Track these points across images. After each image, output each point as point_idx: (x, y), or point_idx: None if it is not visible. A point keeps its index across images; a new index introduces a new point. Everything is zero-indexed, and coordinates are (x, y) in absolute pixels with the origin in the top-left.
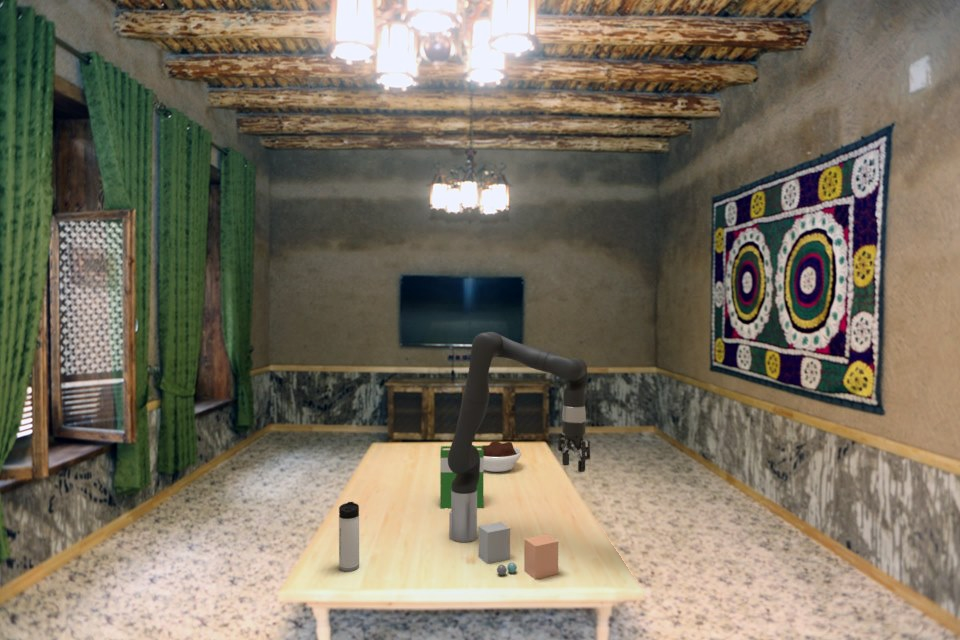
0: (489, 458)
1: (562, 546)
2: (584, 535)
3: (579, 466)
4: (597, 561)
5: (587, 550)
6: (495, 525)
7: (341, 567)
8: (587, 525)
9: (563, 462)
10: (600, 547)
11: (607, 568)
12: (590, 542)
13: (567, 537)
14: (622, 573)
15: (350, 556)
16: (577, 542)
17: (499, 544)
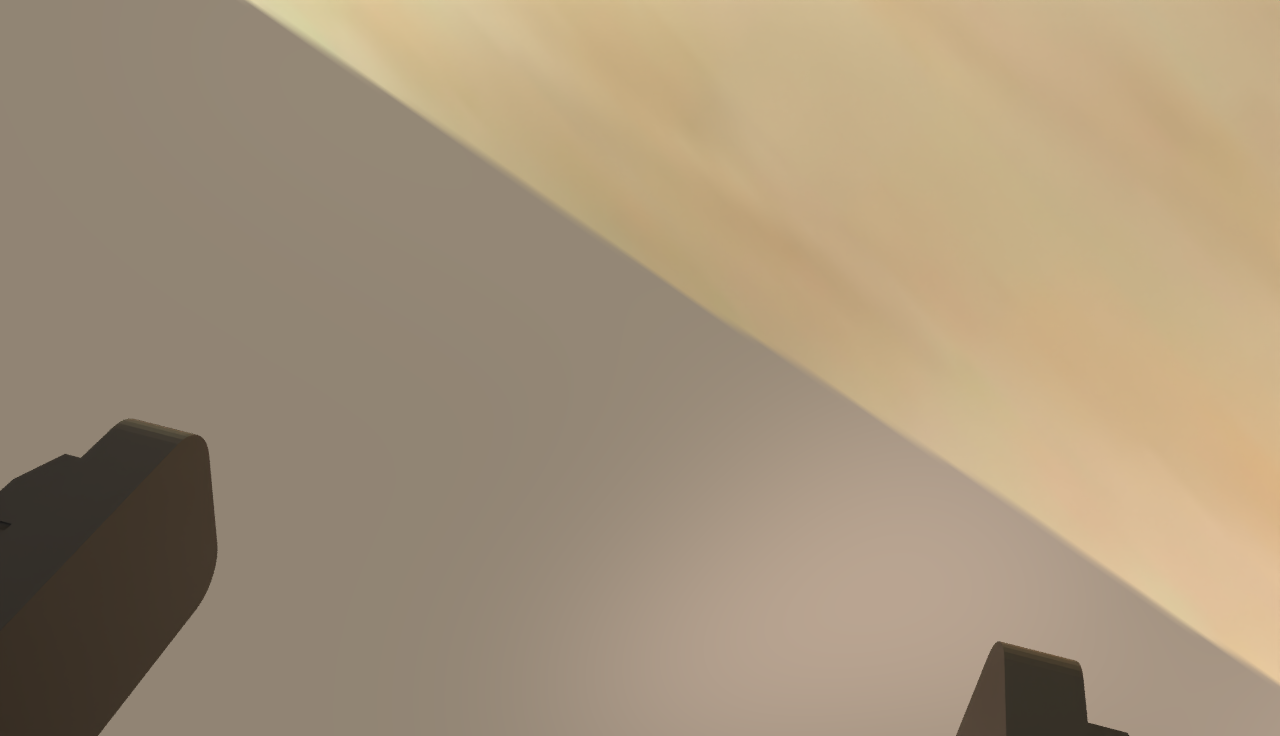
0: None
1: (1144, 86)
2: (1144, 451)
3: (19, 520)
4: (654, 86)
5: (886, 206)
6: None
7: None
8: (1274, 640)
9: (1025, 712)
10: (849, 343)
11: (497, 41)
12: (991, 366)
13: (1255, 301)
14: (362, 66)
15: None
16: (1087, 279)
17: None
